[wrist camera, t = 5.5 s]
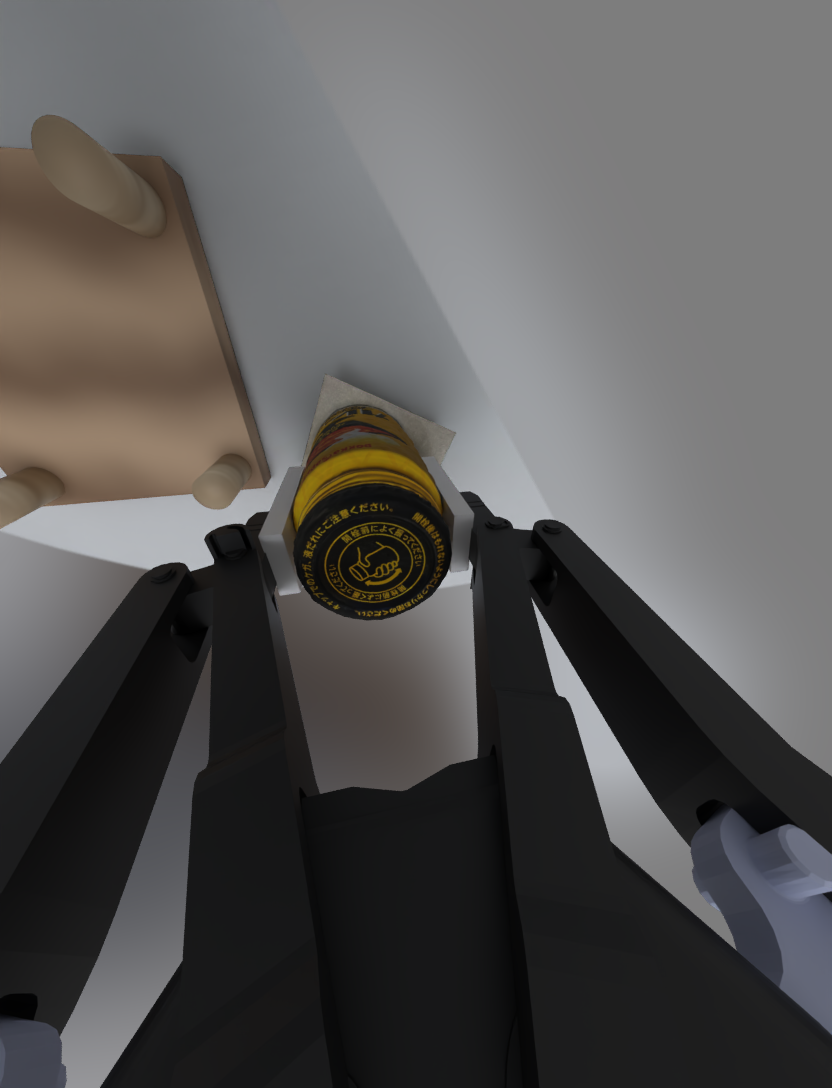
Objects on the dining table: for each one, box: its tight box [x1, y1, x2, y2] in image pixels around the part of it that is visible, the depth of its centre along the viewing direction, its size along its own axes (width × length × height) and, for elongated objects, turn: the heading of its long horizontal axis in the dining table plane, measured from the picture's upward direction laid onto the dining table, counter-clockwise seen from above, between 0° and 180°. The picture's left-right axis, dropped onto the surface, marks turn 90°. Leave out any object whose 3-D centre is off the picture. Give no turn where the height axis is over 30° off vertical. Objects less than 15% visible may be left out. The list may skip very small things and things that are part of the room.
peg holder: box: [0, 115, 271, 529], centre depth 15 cm, size 15×14×6 cm
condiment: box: [293, 374, 456, 620], centre depth 15 cm, size 7×8×12 cm
